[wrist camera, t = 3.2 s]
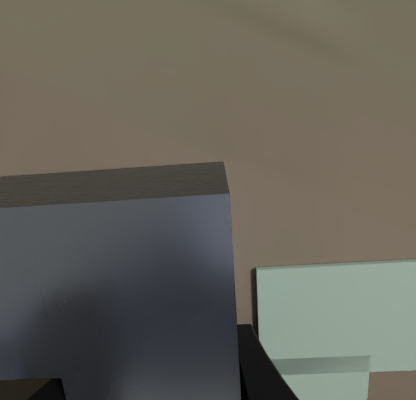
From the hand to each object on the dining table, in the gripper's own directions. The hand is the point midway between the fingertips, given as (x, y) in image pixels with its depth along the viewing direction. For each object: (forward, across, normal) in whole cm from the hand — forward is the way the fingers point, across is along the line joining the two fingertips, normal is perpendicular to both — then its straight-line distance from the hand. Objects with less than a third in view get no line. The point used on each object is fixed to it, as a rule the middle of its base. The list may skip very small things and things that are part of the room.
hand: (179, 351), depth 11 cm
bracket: (+1, +2, -2) cm, 3 cm away
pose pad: (+1, -8, +2) cm, 8 cm away
